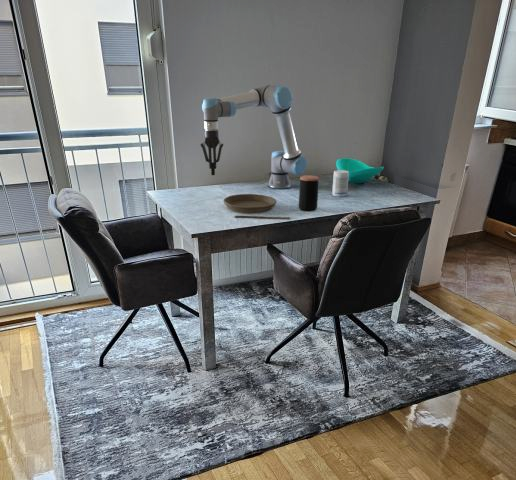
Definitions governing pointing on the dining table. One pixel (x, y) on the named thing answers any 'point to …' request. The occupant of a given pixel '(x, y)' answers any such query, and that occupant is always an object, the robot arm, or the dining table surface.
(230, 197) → the plant saucer
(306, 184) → the coffee jar
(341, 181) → the supplement tub
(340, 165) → the table top decor
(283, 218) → the walnut ruler
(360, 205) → the dining table surface
